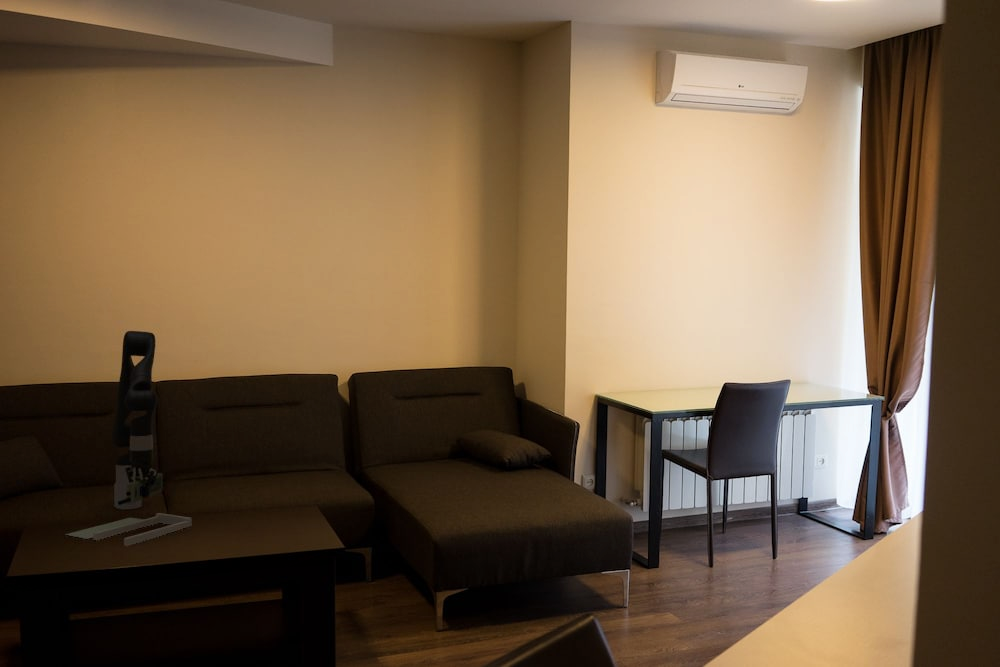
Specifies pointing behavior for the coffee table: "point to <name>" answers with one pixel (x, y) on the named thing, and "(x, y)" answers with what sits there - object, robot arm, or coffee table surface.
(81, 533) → the green mat
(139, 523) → the white u-shaped frame
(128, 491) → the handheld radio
